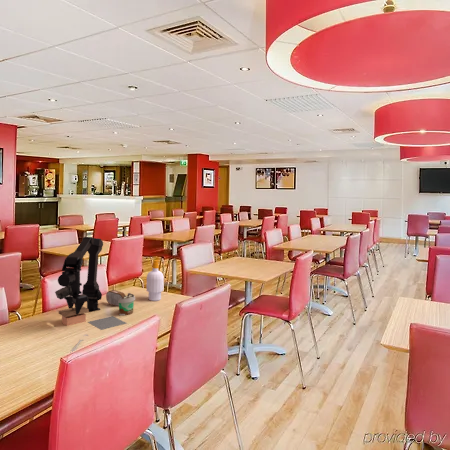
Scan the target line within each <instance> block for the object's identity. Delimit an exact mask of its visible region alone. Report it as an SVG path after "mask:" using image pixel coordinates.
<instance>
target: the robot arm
mask: <svg viewBox="0 0 450 450" xmlns="http://www.w3.org/2000/svg"><path fill="white" fill-rule="evenodd" d="M103 247H104V241H103V240H102V239H101V238H96V237H92V236H84V237H82V241H81V242H80V243H79V245H78V246H77V248H76V249H75V250H74V251H73V252H71V253H69V254H68V255H67V256H66V257H65V259H64V262H63V266H62V268H61V274H60V275H58V278H57V283H58V285H59V286H61V287H62V288H60V289H58V290H55V291H54V293H55V296H56V298H57V299H59V300H65V301H66V304H67V307H68V309H70V308H75V311H76V314H79V312H80V310H81V308H82V306H83V307H84V304H86V308H87V309H89V312H88V313H91V312H92V313H93V312H97V311H101V308H100V307H99V301H100V300H102V298H103V295H102V292H101V289H100V285H99V282H98V281H97V277H98V265H99V254H100V253H101V252H102V250H103ZM86 253H88V266H87V276H86V277H87V278H86V279H87V280H86V282H85V283H84V284H83V285H82V282H81V271H82V267H83V264H84V259H83V258H84V256H85V255H86ZM81 286H82V291H81Z"/></svg>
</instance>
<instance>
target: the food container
mask: <svg viewBox="0 0 450 450" xmlns="http://www.w3.org/2000/svg"><path fill="white" fill-rule="evenodd" d="M135 301H136V296H135V294H133V293H131V292H129V293H127V295H126V296H125V297H123V298H122V299H119V300H118V303H119V306H118V314H119V316H129V315H132V314H133V313H134V305H135V304H134V302H135Z"/></svg>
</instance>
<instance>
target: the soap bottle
mask: <svg viewBox="0 0 450 450" xmlns="http://www.w3.org/2000/svg"><path fill="white" fill-rule="evenodd" d="M160 262H161V260H156V259H154V260H153V262H152V270H151V271H148V273H147V274H146V292H147V293H148V300H149V301H152V302H157V301H160V300H162V292H164V290H165V289H164V284H165V283H164V281H165V277H164V274H163V272H162V271H160V270H159V263H160Z"/></svg>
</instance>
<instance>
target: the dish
mask: <svg viewBox="0 0 450 450" xmlns="http://www.w3.org/2000/svg"><path fill="white" fill-rule="evenodd" d="M86 317H87V316H86V313H82V314H77V315H73V316H68V317H64V316H62V315H61V323H62V324H63V325H64V326H67V327H69V326H73V325H76V324H81V323H85V322H86V321H87V320H86Z"/></svg>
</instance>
